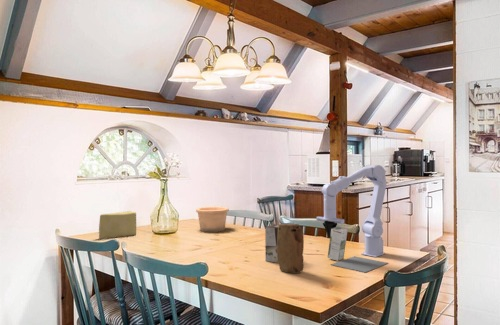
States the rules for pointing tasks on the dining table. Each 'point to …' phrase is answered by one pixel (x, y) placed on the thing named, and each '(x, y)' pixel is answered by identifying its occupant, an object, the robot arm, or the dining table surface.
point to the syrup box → (337, 243)
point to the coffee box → (271, 243)
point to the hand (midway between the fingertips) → (330, 237)
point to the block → (290, 247)
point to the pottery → (212, 218)
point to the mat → (359, 264)
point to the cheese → (117, 225)
